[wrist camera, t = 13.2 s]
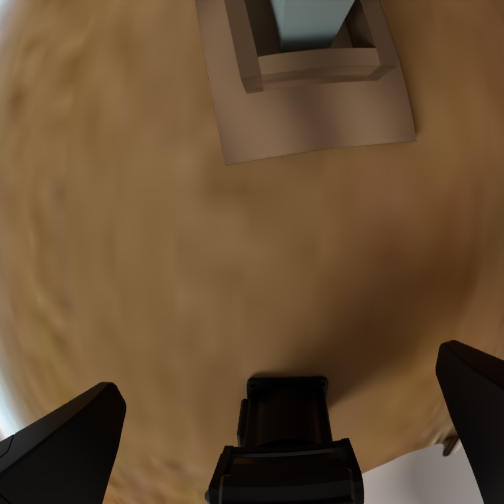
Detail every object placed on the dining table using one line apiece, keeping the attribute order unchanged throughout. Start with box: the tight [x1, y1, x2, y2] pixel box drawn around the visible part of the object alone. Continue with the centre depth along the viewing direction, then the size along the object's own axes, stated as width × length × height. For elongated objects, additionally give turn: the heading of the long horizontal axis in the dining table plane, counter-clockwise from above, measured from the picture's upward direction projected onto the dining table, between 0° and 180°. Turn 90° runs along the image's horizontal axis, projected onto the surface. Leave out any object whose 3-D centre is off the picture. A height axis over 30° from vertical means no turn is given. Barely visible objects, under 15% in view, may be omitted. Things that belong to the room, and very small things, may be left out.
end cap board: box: [195, 0, 416, 165], centre depth 13 cm, size 12×18×4 cm, turn 10°
